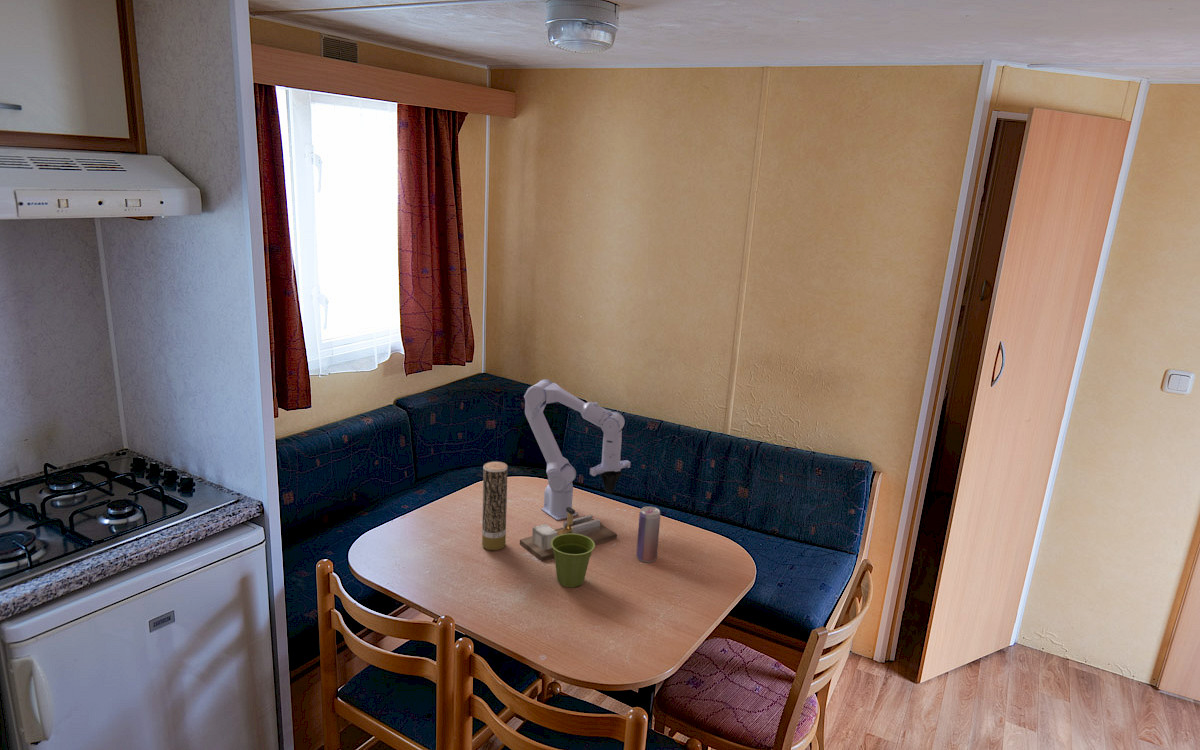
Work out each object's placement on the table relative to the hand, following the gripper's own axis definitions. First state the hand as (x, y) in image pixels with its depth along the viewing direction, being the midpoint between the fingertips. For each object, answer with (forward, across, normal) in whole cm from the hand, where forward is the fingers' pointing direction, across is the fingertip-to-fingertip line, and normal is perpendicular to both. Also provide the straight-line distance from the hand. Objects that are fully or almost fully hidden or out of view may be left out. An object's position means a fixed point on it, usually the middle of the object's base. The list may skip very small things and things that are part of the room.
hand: (608, 492), depth 234 cm
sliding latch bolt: (+8, -22, -4) cm, 24 cm away
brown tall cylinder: (+11, -38, +5) cm, 40 cm away
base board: (+10, -18, -4) cm, 21 cm away
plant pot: (+11, -30, -23) cm, 39 cm away
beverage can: (+11, -4, -24) cm, 27 cm away
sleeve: (+9, -13, -4) cm, 16 cm away
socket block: (+9, -26, -4) cm, 28 cm away
